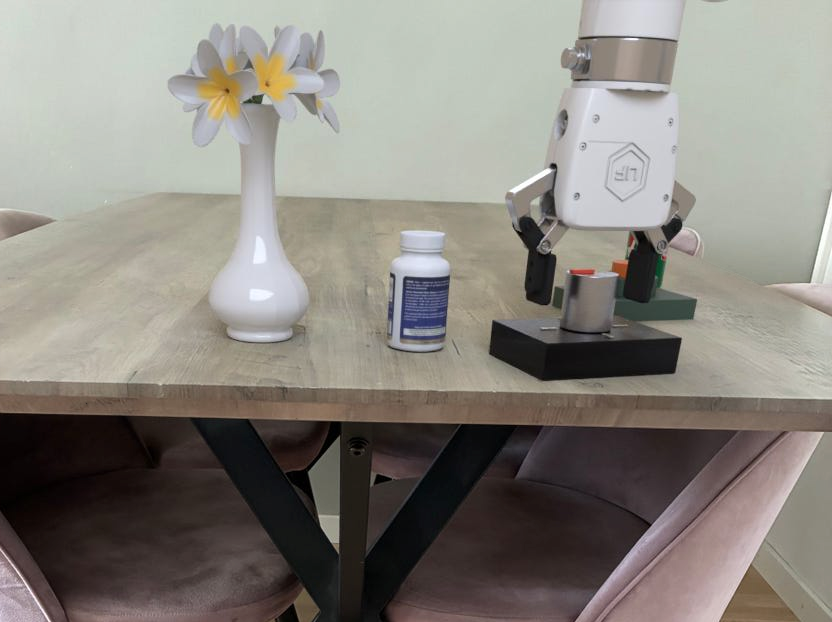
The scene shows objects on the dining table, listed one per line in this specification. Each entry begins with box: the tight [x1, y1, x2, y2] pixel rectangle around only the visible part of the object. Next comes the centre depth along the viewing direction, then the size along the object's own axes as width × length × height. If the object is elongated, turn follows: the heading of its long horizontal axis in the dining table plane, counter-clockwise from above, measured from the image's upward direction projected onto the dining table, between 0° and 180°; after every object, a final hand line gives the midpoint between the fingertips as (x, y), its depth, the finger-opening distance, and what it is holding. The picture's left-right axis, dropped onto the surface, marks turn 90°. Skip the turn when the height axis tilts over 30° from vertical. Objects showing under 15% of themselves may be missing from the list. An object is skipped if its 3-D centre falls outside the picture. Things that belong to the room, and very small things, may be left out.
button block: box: [551, 270, 698, 322], centre depth 106 cm, size 12×10×4 cm
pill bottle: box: [386, 229, 451, 353], centre depth 86 cm, size 5×5×10 cm
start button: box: [610, 259, 628, 278], centre depth 105 cm, size 4×4×2 cm
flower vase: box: [167, 22, 341, 344], centre depth 83 cm, size 13×18×25 cm
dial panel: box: [488, 316, 683, 382], centre depth 83 cm, size 13×10×3 cm
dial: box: [560, 268, 619, 333], centre depth 82 cm, size 4×4×5 cm
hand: (587, 301), depth 82 cm, fingers open, 9 cm apart
